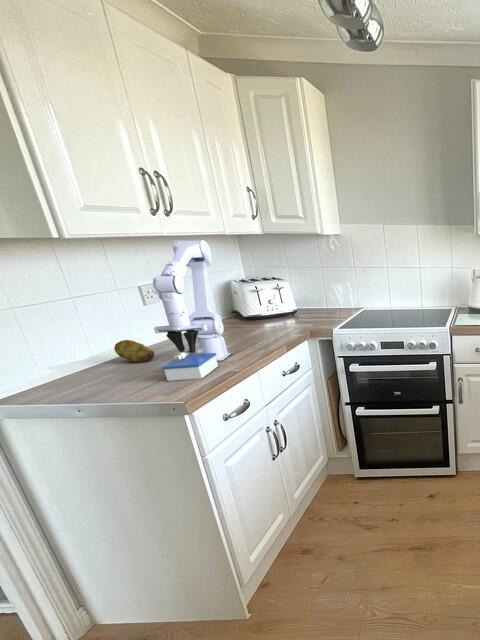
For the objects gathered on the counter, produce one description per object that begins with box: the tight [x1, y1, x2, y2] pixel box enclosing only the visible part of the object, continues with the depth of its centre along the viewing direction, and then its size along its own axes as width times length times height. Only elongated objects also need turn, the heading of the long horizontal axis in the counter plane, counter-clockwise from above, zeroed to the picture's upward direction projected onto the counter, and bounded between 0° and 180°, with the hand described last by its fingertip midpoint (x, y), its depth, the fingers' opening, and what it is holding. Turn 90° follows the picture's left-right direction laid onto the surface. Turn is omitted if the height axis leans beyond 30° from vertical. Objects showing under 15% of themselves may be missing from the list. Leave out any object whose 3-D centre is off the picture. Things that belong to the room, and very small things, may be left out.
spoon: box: [173, 346, 204, 362], centre depth 142 cm, size 16×5×3 cm, turn 15°
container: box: [161, 353, 219, 382], centre depth 144 cm, size 15×11×5 cm
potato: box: [113, 339, 155, 363], centre depth 158 cm, size 8×13×8 cm, turn 65°
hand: (188, 352), depth 142 cm, fingers closed on spoon, 2 cm apart
